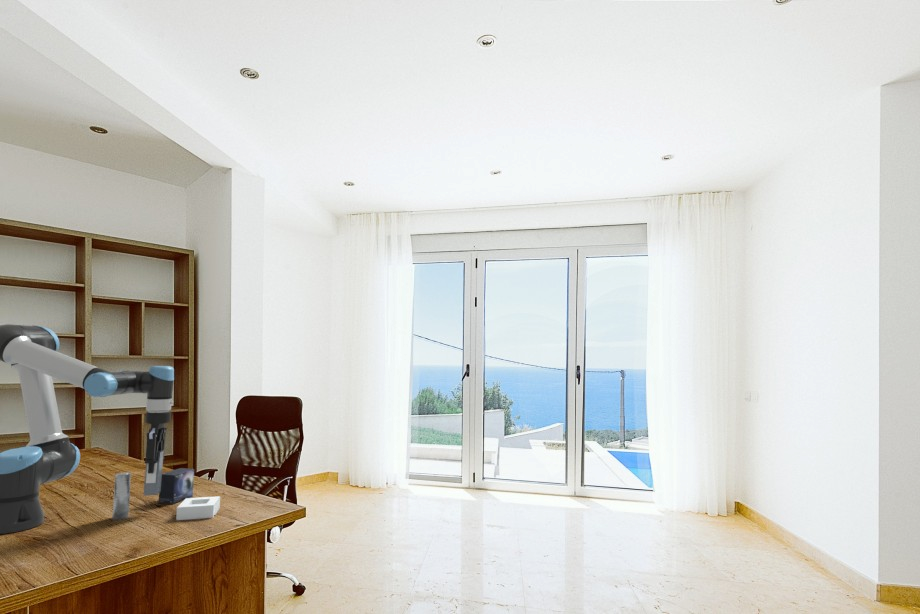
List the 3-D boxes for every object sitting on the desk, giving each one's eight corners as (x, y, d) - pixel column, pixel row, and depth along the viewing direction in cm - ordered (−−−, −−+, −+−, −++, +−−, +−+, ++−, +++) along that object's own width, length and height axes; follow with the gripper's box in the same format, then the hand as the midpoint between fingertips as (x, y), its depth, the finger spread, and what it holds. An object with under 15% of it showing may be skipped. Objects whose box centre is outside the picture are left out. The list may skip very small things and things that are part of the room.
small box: (173, 504, 184) (174, 474, 185) (157, 503, 185) (159, 473, 186) (193, 496, 194) (195, 468, 195) (178, 495, 196) (180, 467, 197)
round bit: (110, 520, 167) (113, 475, 168) (115, 516, 171) (118, 472, 172) (125, 519, 168) (128, 475, 169) (130, 515, 172) (133, 472, 173)
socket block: (176, 520, 167) (176, 507, 167) (185, 510, 178) (185, 498, 178) (213, 517, 170) (213, 505, 170) (219, 507, 180) (220, 496, 181)
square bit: (143, 495, 172) (146, 452, 173) (147, 492, 176) (150, 450, 177) (156, 495, 173) (160, 452, 174) (160, 491, 177) (163, 450, 178)
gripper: (163, 414, 169) (157, 487, 167) (177, 408, 186) (172, 474, 184) (137, 414, 168) (131, 487, 166) (154, 408, 184) (149, 475, 182)
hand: (153, 480), depth 175 cm, fingers closed on square bit, 4 cm apart
